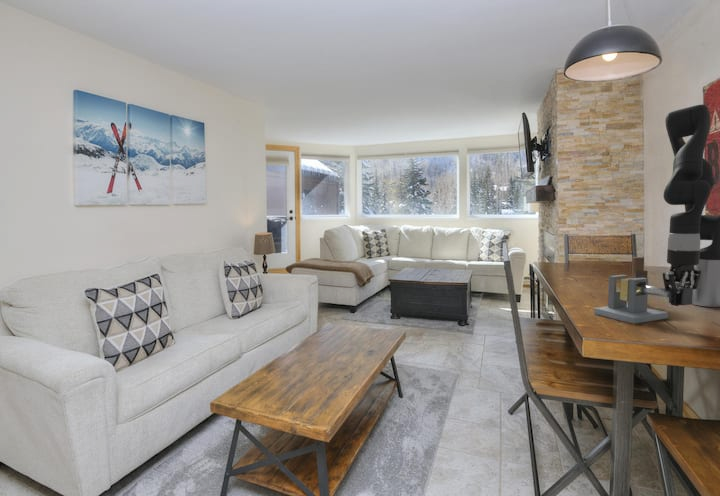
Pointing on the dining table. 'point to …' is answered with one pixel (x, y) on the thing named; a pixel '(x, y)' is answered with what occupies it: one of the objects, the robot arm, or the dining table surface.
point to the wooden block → (638, 268)
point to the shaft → (667, 293)
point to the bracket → (629, 303)
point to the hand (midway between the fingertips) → (680, 304)
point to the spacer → (625, 289)
